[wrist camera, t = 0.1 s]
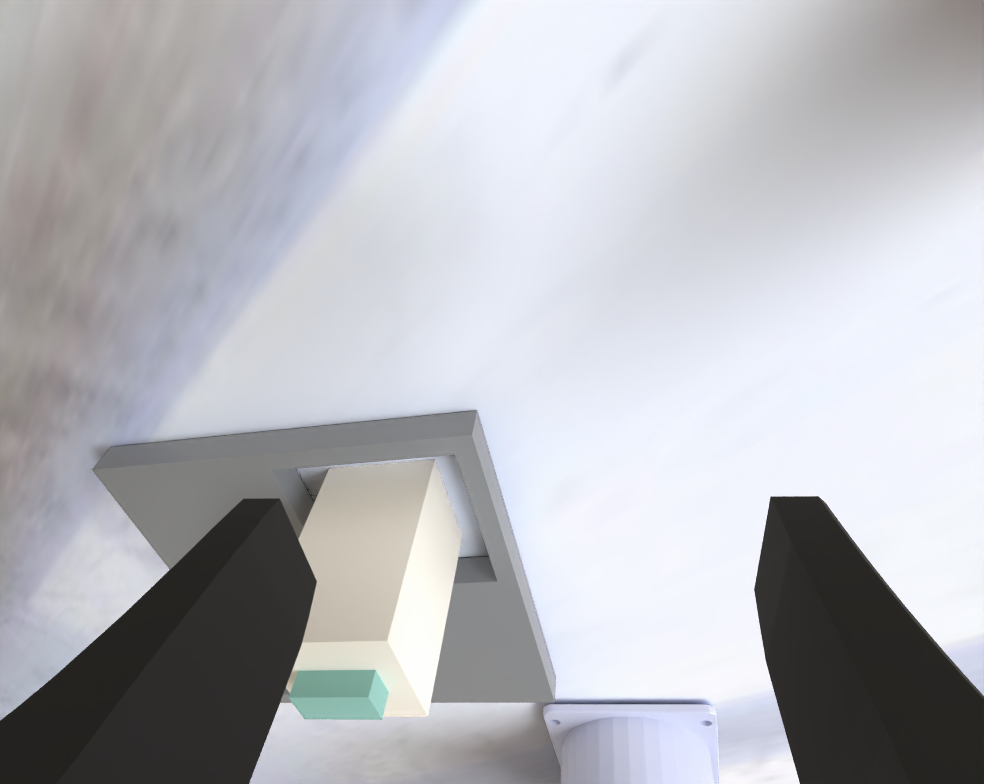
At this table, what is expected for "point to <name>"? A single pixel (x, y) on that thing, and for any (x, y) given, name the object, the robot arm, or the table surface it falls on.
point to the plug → (376, 592)
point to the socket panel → (272, 474)
